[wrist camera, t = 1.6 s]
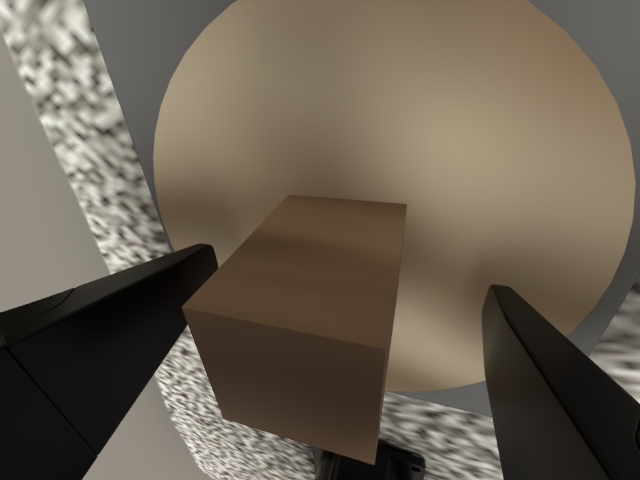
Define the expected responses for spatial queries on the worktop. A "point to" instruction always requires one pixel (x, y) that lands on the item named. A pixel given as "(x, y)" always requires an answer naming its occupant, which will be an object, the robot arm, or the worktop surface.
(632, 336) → the worktop surface
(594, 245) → the lid
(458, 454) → the worktop surface
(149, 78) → the mat
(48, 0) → the worktop surface
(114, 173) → the worktop surface
